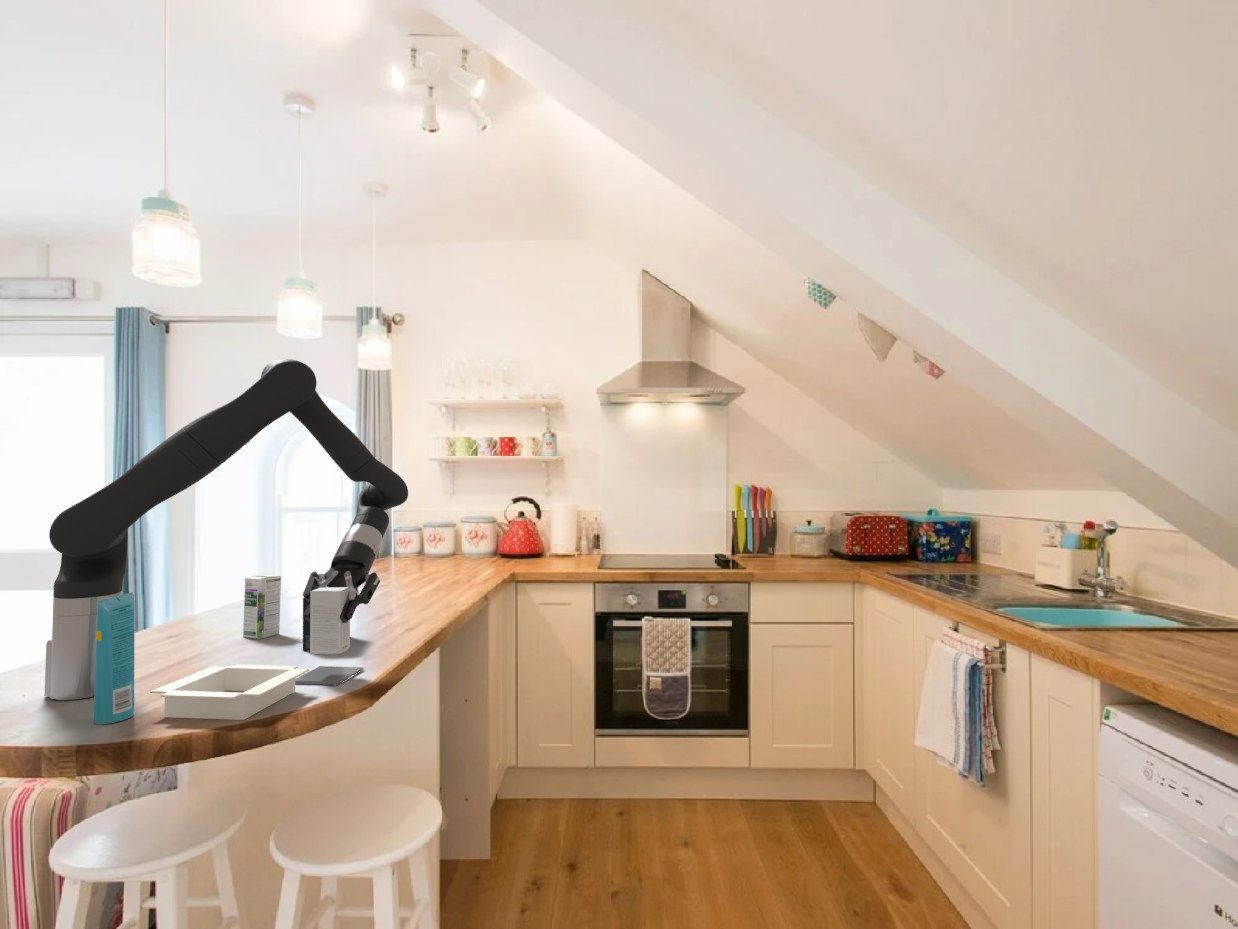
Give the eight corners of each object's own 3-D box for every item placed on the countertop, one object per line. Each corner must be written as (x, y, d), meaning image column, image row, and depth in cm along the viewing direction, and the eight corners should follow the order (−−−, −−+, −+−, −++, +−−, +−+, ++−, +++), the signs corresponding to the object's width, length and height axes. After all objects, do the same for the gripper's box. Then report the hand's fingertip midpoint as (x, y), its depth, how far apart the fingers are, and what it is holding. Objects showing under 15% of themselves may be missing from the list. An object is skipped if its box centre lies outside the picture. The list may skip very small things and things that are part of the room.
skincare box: (350, 648, 118) (351, 586, 119) (341, 654, 114) (342, 590, 115) (319, 648, 118) (319, 587, 119) (308, 654, 114) (309, 590, 114)
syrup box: (241, 637, 146) (243, 577, 146) (263, 632, 151) (264, 573, 152) (259, 639, 144) (261, 578, 144) (280, 634, 149) (282, 574, 150)
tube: (110, 711, 98) (114, 592, 99) (144, 709, 99) (148, 591, 100) (79, 729, 91) (84, 600, 91) (116, 727, 92) (120, 599, 92)
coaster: (292, 683, 112) (292, 680, 112) (319, 669, 121) (319, 666, 121) (338, 685, 111) (338, 682, 111) (363, 670, 120) (363, 667, 120)
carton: (141, 720, 94) (142, 694, 94) (218, 686, 110) (218, 664, 111) (251, 724, 93) (252, 698, 93) (313, 689, 109) (313, 666, 109)
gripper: (318, 539, 125) (280, 608, 113) (385, 539, 124) (355, 609, 112) (332, 561, 130) (297, 630, 118) (396, 562, 129) (368, 631, 117)
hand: (325, 620), depth 115 cm, fingers closed on skincare box, 6 cm apart
